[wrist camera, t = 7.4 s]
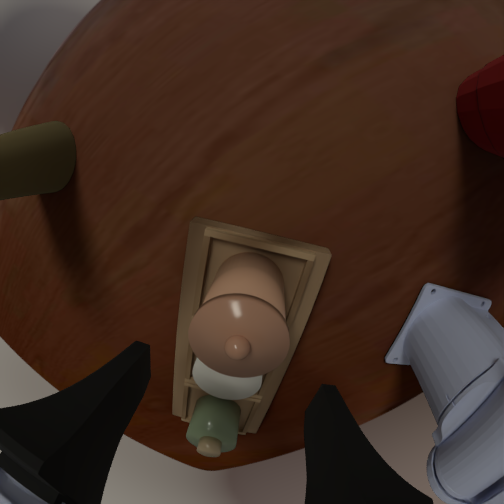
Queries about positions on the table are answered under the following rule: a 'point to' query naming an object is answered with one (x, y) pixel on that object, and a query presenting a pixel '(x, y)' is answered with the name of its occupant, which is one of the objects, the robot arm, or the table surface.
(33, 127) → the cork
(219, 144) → the table surface
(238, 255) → the spice jar
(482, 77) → the plastic cup
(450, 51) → the table surface
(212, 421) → the green jar
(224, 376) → the white rounded disc
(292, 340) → the tray
